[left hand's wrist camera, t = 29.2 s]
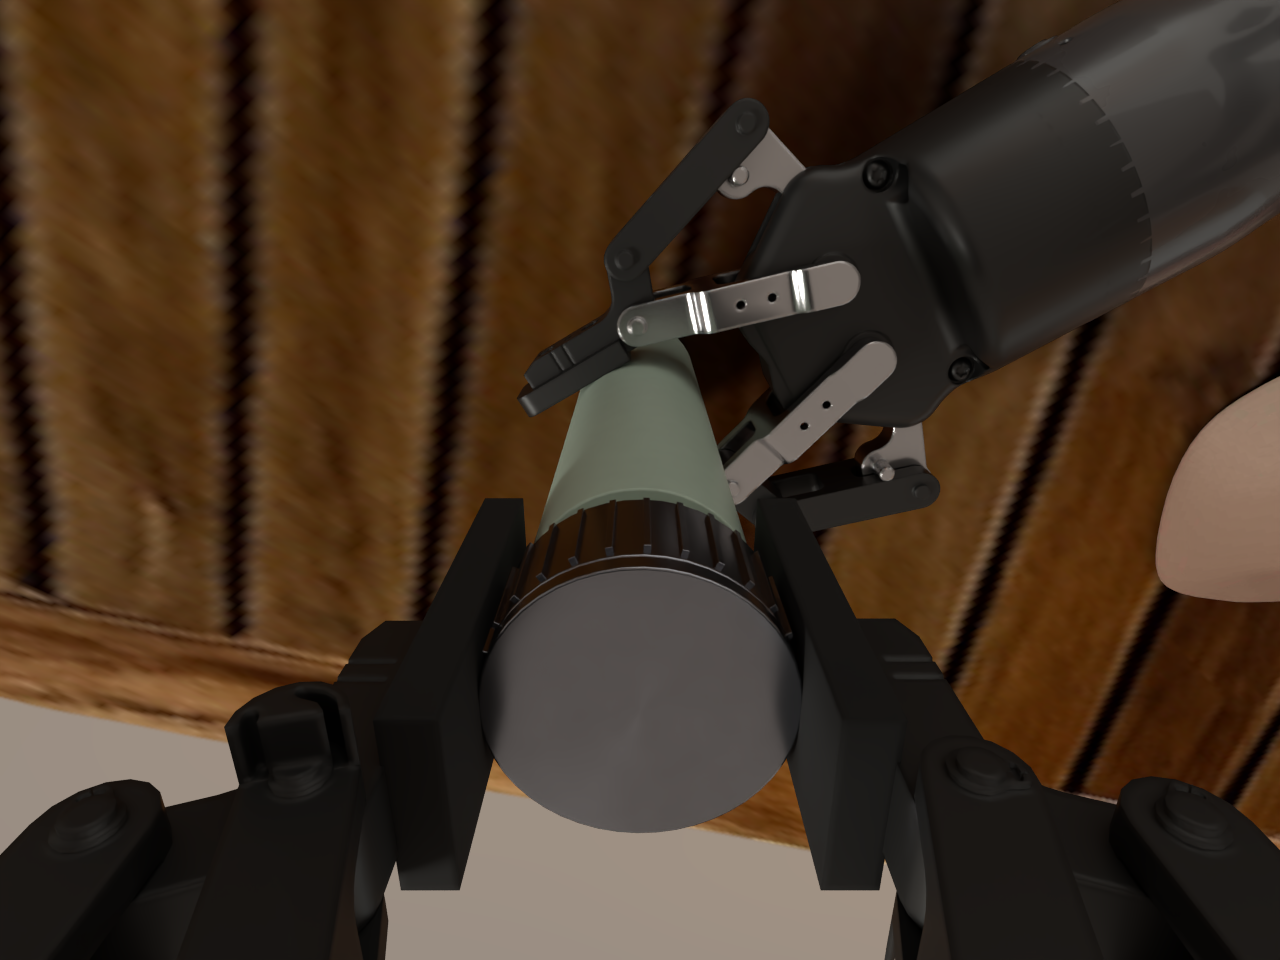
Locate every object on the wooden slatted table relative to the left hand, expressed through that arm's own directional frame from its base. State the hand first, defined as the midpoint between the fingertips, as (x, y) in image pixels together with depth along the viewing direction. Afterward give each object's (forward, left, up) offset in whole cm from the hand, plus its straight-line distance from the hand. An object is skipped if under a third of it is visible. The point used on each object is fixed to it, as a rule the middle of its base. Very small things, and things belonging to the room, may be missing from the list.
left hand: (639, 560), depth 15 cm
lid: (0, 0, +4) cm, 4 cm away
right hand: (+2, -2, -9) cm, 10 cm away
